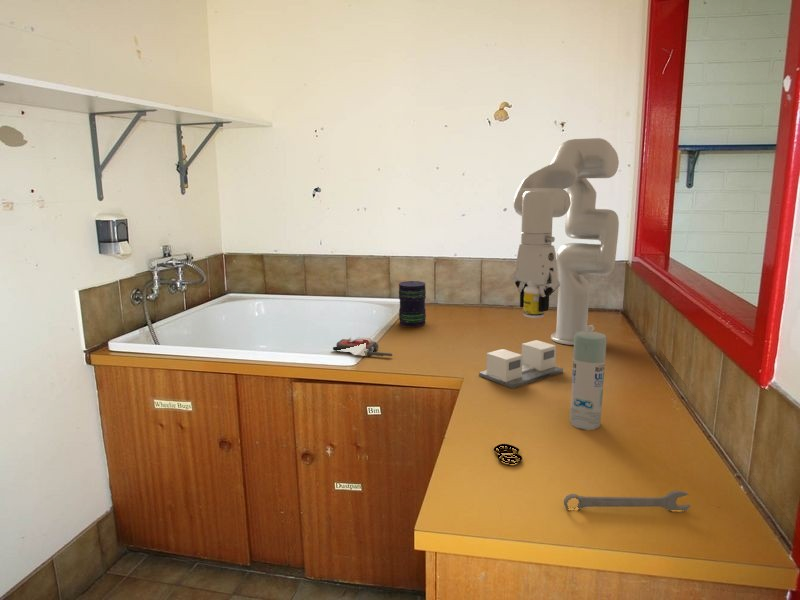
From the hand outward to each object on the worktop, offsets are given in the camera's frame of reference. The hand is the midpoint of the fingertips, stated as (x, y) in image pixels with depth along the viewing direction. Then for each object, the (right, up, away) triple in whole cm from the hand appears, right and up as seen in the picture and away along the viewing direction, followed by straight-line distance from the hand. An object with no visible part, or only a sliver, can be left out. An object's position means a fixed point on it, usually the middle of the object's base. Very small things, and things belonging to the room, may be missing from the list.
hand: (533, 308), depth 148 cm
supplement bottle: (0, -2, 0) cm, 2 cm away
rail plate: (-2, -18, +7) cm, 19 cm away
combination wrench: (+2, -32, -56) cm, 65 cm away
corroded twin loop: (-14, -29, -38) cm, 50 cm away
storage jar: (-30, -7, +61) cm, 68 cm away
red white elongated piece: (-46, -15, +27) cm, 55 cm away
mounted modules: (-2, -17, +6) cm, 18 cm away
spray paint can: (+5, -25, -25) cm, 35 cm away
